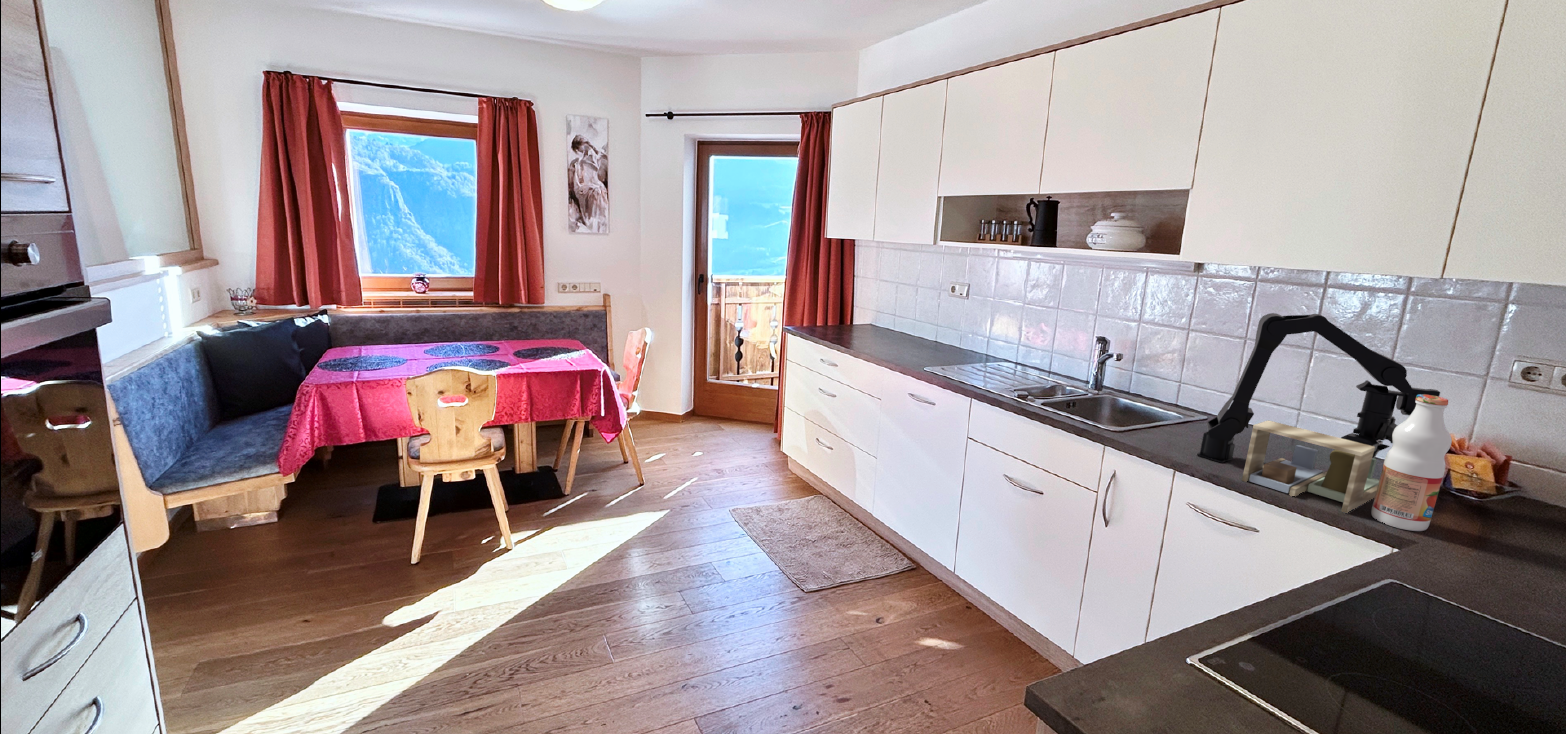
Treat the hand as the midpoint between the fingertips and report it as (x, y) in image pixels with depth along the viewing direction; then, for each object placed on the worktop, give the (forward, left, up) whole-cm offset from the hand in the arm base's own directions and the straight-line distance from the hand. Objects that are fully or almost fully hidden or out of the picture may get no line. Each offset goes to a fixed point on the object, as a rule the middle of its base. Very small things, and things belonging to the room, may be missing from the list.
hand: (1361, 471), depth 168 cm
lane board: (-5, -15, -3) cm, 16 cm away
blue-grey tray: (-10, -15, -3) cm, 18 cm away
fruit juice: (+13, -20, -3) cm, 24 cm away
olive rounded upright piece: (0, -15, -3) cm, 16 cm away
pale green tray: (0, -9, -3) cm, 10 cm away
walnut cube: (-10, -21, -3) cm, 23 cm away
